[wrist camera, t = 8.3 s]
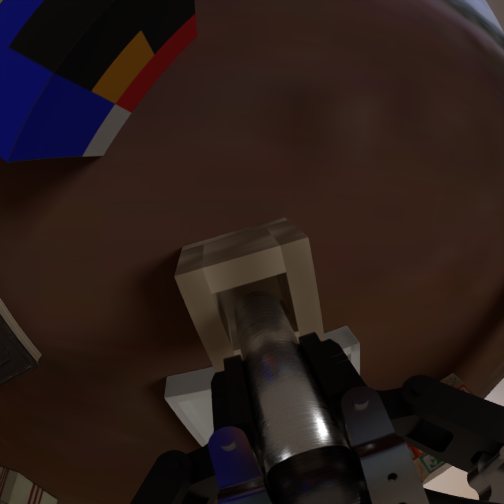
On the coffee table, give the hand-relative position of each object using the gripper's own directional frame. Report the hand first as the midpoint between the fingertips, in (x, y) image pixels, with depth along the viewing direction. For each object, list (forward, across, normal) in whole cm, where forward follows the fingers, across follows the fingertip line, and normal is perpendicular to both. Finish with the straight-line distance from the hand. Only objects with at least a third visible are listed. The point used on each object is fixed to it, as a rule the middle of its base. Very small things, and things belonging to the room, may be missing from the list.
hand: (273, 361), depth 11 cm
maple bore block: (+9, 0, 0) cm, 9 cm away
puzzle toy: (+9, +6, -18) cm, 21 cm away
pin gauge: (+4, 0, 0) cm, 4 cm away
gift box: (+9, +74, +42) cm, 86 cm away
